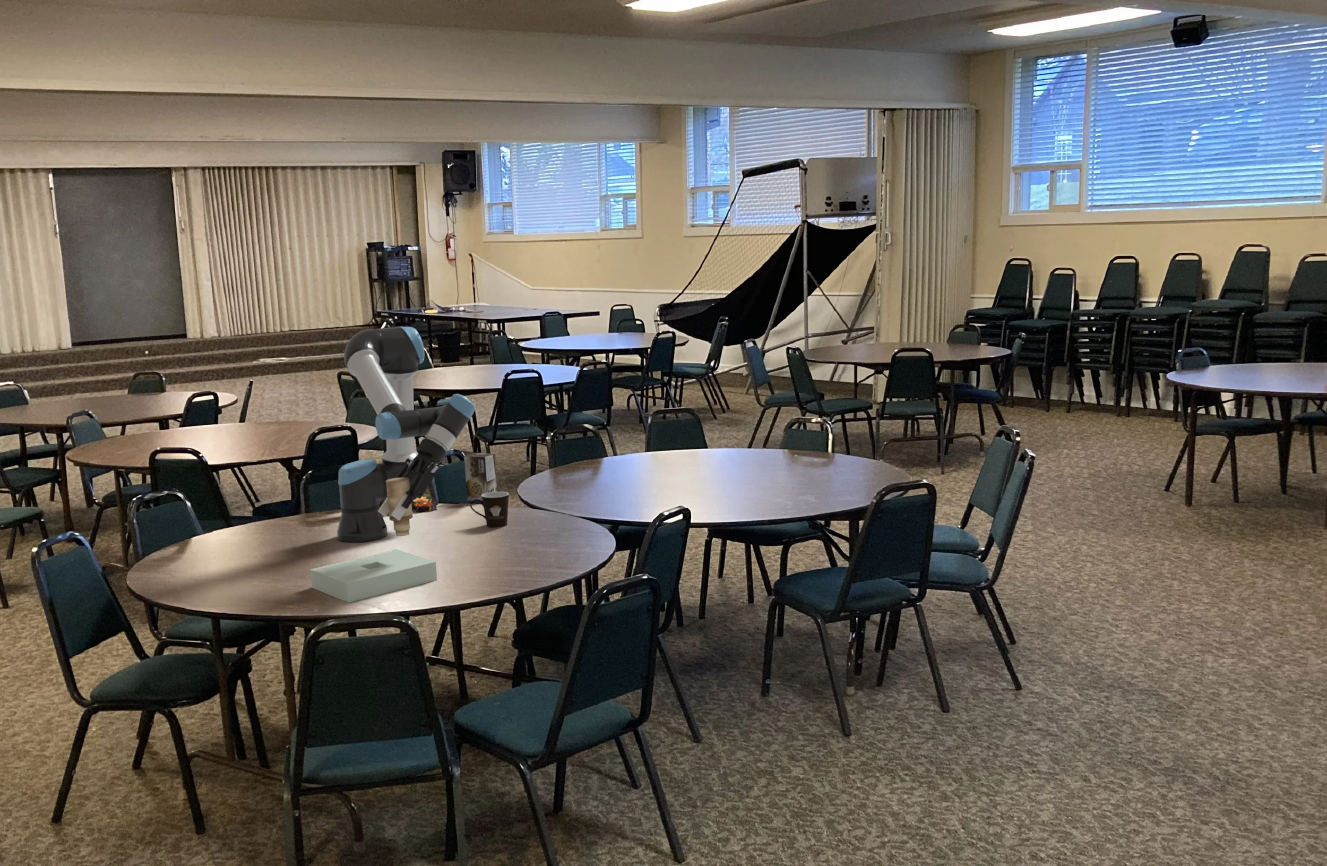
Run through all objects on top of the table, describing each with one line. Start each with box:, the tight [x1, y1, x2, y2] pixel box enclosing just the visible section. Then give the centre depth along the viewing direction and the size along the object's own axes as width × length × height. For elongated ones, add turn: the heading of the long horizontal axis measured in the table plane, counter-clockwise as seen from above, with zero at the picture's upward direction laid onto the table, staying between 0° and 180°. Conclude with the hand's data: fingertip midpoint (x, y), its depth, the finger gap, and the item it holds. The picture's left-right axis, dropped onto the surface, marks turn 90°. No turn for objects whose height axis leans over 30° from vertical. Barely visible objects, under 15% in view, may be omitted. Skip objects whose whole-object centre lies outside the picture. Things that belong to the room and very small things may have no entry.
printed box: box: [463, 452, 498, 502], centre depth 407 cm, size 9×6×16 cm
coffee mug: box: [469, 491, 510, 529], centre depth 369 cm, size 12×9×10 cm
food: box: [379, 495, 439, 517], centre depth 398 cm, size 22×19×4 cm
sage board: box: [309, 549, 438, 603], centre depth 308 cm, size 20×26×5 cm
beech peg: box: [386, 478, 414, 537], centre depth 310 cm, size 6×6×15 cm
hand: (388, 515), depth 307 cm, fingers closed on beech peg, 6 cm apart
